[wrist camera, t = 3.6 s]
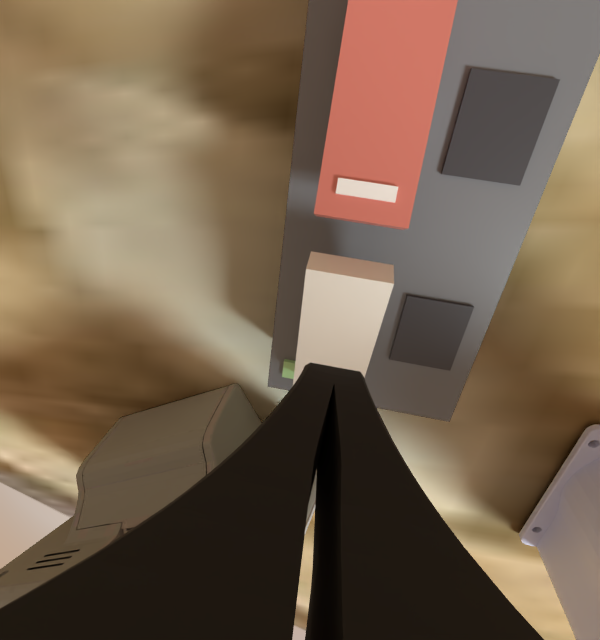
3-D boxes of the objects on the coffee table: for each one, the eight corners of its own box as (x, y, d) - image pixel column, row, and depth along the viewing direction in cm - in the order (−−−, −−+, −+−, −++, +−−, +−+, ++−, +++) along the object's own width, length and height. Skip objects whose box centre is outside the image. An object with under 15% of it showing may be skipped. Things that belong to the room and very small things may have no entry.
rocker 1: (402, 229, 11) (409, 228, 10) (316, 215, 11) (313, 213, 10) (451, -4, 10) (465, -33, 9) (353, -14, 10) (354, -45, 9)
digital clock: (127, 495, 28) (6, 681, 18) (70, 397, 24) (-118, 568, 15) (344, 489, 24) (333, 717, 15) (317, 373, 20) (279, 578, 11)
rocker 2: (357, 384, 16) (355, 406, 15) (296, 373, 16) (291, 394, 15) (393, 264, 12) (394, 285, 11) (311, 251, 12) (305, 270, 11)
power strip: (434, 374, 19) (452, 431, 16) (282, 345, 20) (264, 394, 16) (820, -708, 7) (1294, -1577, 4) (410, -701, 8) (454, -1441, 4)
